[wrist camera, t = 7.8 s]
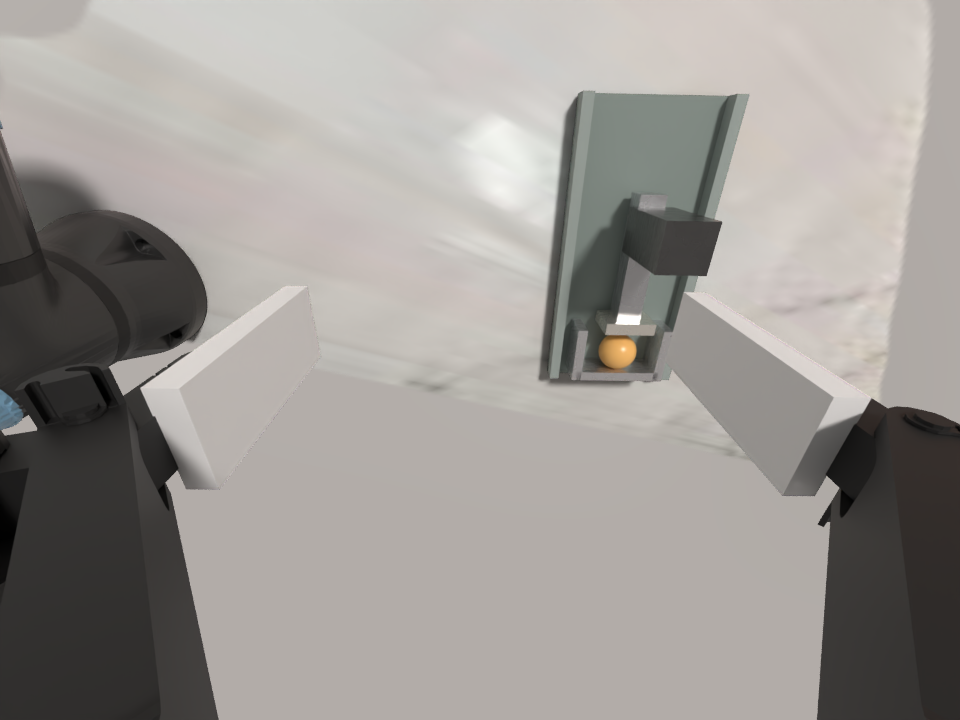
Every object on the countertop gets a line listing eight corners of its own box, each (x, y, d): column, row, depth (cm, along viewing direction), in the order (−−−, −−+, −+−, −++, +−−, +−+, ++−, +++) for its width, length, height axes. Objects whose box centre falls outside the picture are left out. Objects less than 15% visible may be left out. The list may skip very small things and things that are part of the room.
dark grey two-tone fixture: (595, 320, 44) (627, 368, 34) (616, 191, 38) (663, 205, 28) (640, 320, 44) (685, 368, 34) (668, 192, 38) (733, 207, 28)
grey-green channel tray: (547, 369, 48) (549, 378, 46) (578, 93, 35) (583, 90, 33) (661, 371, 48) (668, 379, 46) (735, 96, 35) (749, 94, 33)
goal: (564, 362, 48) (571, 380, 44) (570, 316, 45) (578, 330, 41) (647, 364, 48) (660, 381, 44) (658, 317, 45) (674, 332, 41)
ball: (607, 341, 41) (597, 327, 45) (601, 375, 43) (592, 358, 47) (645, 342, 41) (632, 327, 45) (638, 375, 43) (625, 359, 47)
